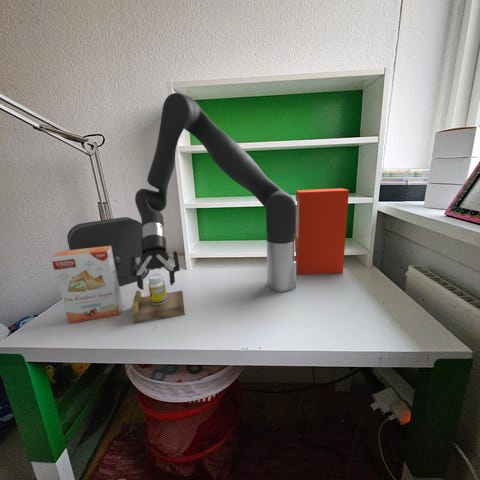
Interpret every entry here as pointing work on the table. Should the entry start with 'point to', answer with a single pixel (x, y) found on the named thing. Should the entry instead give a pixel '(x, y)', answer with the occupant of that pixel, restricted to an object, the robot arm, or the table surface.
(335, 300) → the table surface
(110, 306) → the cracker box
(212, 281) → the table surface
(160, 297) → the supplement bottle
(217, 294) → the table surface
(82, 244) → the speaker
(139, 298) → the dock
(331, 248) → the file binder
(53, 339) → the table surface
